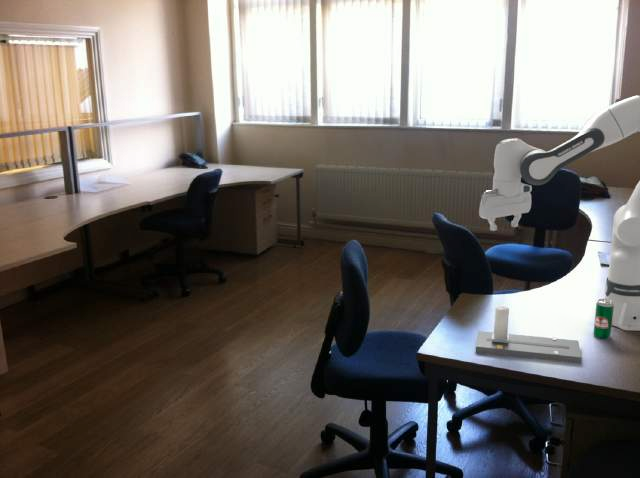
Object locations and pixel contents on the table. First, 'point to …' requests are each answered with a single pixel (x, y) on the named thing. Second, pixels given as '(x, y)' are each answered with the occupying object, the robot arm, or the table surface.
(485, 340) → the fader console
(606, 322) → the soda can
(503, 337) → the fader knob
